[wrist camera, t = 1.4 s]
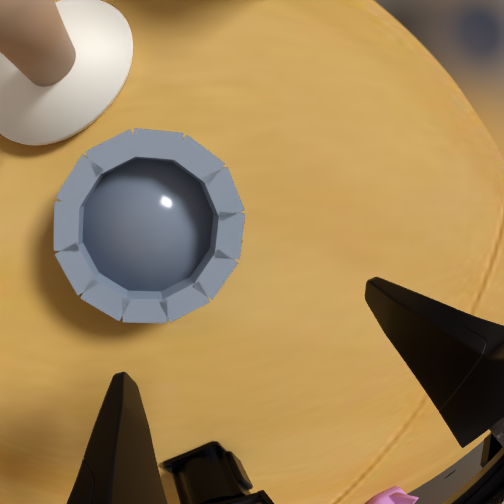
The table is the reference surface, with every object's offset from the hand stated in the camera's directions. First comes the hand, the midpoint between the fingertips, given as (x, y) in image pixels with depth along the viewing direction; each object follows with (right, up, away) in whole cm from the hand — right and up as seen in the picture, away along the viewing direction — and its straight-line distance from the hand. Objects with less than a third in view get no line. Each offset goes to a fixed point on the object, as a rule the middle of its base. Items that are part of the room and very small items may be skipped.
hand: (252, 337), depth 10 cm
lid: (-13, +15, +4) cm, 20 cm away
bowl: (-7, +5, +9) cm, 12 cm away
